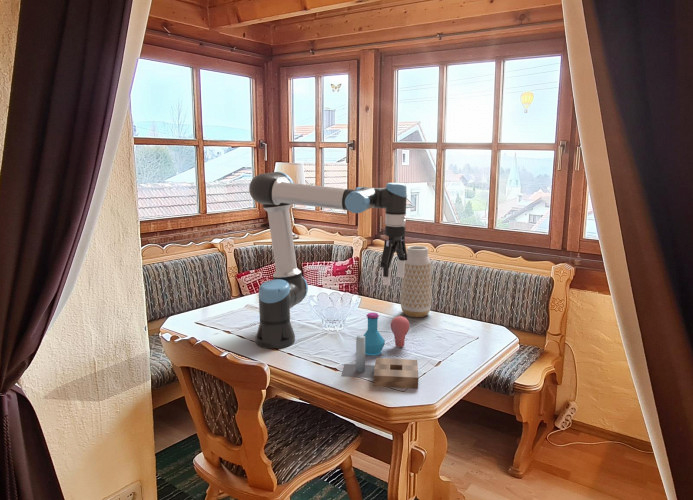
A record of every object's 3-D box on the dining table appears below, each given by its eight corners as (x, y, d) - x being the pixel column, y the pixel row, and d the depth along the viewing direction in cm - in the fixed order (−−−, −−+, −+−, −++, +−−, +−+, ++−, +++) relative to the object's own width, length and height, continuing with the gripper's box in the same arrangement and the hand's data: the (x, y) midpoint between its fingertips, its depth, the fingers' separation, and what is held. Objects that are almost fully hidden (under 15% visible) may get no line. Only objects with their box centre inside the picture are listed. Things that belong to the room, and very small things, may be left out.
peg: (355, 372, 178) (355, 338, 175) (356, 368, 181) (356, 335, 178) (364, 372, 177) (365, 338, 175) (365, 369, 180) (365, 335, 178)
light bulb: (396, 351, 196) (397, 320, 194) (386, 345, 203) (387, 315, 200) (412, 348, 200) (413, 318, 197) (402, 342, 206) (402, 312, 204)
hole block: (373, 387, 168) (373, 375, 167) (375, 368, 182) (375, 357, 181) (418, 389, 166) (418, 377, 166) (416, 370, 180) (417, 359, 179)
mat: (341, 377, 175) (341, 376, 175) (344, 364, 185) (344, 363, 184) (377, 379, 174) (377, 378, 174) (378, 366, 183) (378, 365, 183)
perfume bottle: (358, 348, 199) (358, 310, 196) (382, 347, 200) (383, 309, 197) (361, 358, 190) (361, 318, 188) (386, 357, 191) (387, 317, 188)
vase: (435, 312, 242) (438, 246, 235) (423, 321, 230) (425, 252, 224) (408, 307, 249) (410, 243, 243) (394, 315, 237) (396, 248, 231)
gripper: (391, 230, 183) (389, 290, 187) (416, 221, 205) (414, 274, 209) (371, 228, 186) (370, 287, 191) (398, 220, 208) (397, 272, 212)
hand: (393, 280), depth 200 cm, fingers open, 13 cm apart
